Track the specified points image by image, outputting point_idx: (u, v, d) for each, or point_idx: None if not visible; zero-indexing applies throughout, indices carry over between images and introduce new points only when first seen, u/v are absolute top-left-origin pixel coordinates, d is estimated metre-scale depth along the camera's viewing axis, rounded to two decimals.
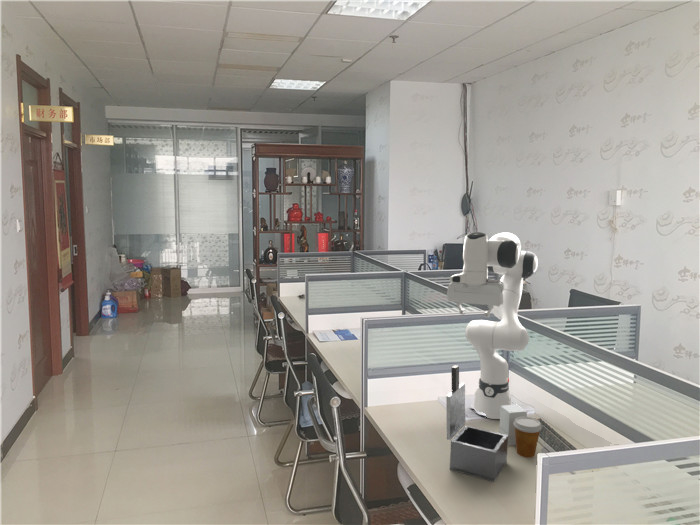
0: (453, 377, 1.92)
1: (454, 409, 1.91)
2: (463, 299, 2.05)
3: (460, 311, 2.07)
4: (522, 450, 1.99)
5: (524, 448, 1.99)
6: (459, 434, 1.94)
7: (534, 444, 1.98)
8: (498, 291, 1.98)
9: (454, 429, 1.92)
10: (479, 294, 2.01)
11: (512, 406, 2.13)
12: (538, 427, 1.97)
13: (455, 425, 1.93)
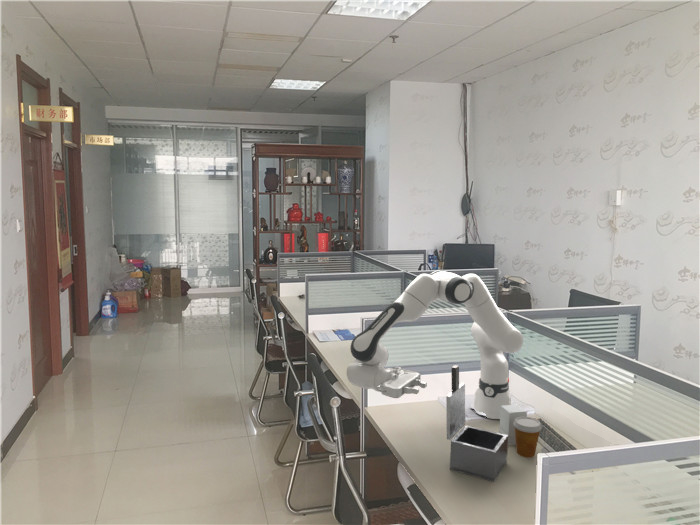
0: (453, 377, 1.92)
1: (454, 409, 1.91)
2: None
3: None
4: (522, 450, 1.99)
5: (524, 448, 1.99)
6: (459, 434, 1.94)
7: (534, 444, 1.98)
8: (385, 395, 1.98)
9: (454, 429, 1.92)
10: None
11: (512, 406, 2.13)
12: (538, 427, 1.97)
13: (455, 425, 1.93)
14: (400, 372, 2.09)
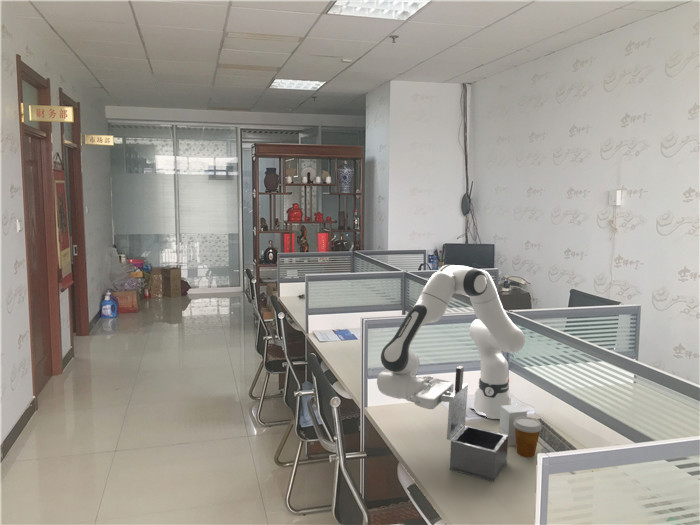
0: (457, 378, 1.91)
1: (456, 409, 1.91)
2: None
3: None
4: (522, 450, 1.99)
5: (524, 448, 1.99)
6: (459, 434, 1.94)
7: (534, 444, 1.98)
8: (418, 405, 1.92)
9: (454, 429, 1.92)
10: None
11: (512, 406, 2.13)
12: (538, 427, 1.97)
13: (456, 425, 1.93)
14: (432, 381, 2.03)
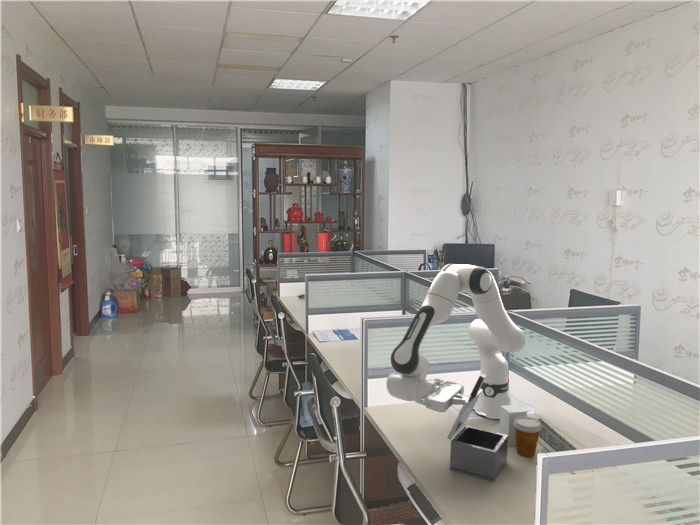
0: (477, 385, 1.88)
1: (465, 413, 1.89)
2: None
3: None
4: (522, 450, 1.99)
5: (524, 448, 1.99)
6: (459, 434, 1.94)
7: (534, 444, 1.98)
8: (429, 408, 1.90)
9: (456, 430, 1.92)
10: None
11: (512, 406, 2.13)
12: (538, 427, 1.97)
13: (459, 427, 1.92)
14: (443, 384, 2.01)
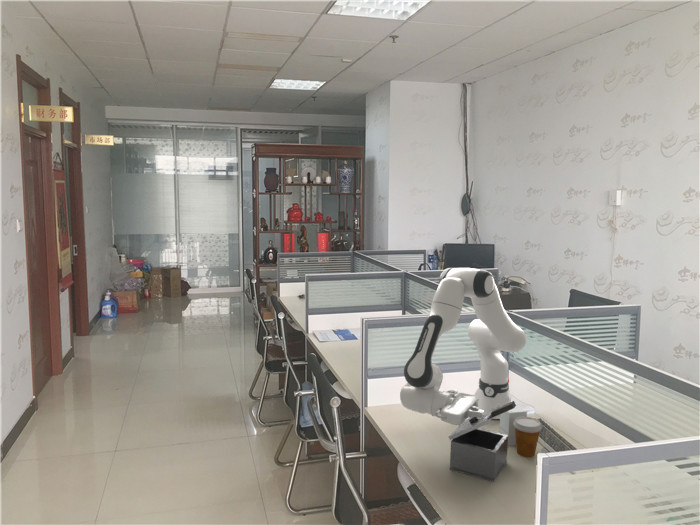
0: (503, 409, 1.84)
1: None
2: None
3: None
4: (522, 450, 1.99)
5: (524, 448, 1.99)
6: None
7: (534, 444, 1.98)
8: (445, 421, 1.87)
9: None
10: None
11: None
12: (538, 427, 1.97)
13: None
14: (457, 396, 1.99)
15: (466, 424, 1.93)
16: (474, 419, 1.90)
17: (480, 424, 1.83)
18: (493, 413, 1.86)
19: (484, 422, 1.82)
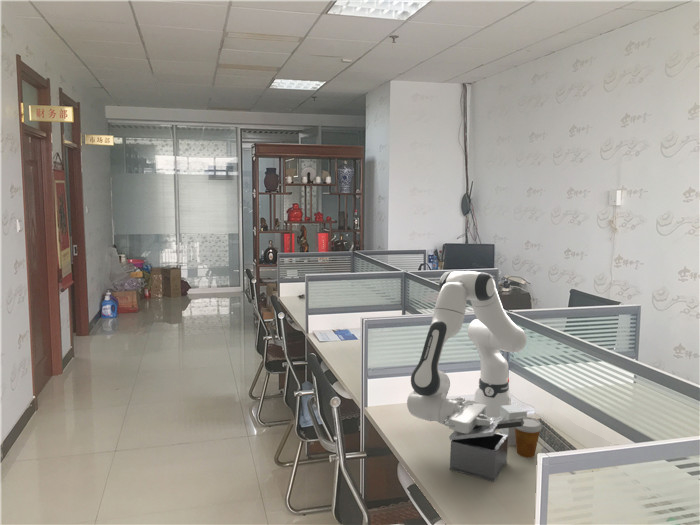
0: (510, 424, 1.84)
1: None
2: None
3: None
4: (522, 450, 1.99)
5: (524, 448, 1.99)
6: None
7: (534, 444, 1.98)
8: (453, 429, 1.86)
9: None
10: None
11: (512, 406, 2.13)
12: (538, 427, 1.97)
13: None
14: (465, 403, 1.98)
15: None
16: (478, 425, 1.90)
17: (485, 434, 1.82)
18: (499, 425, 1.86)
19: (489, 433, 1.81)
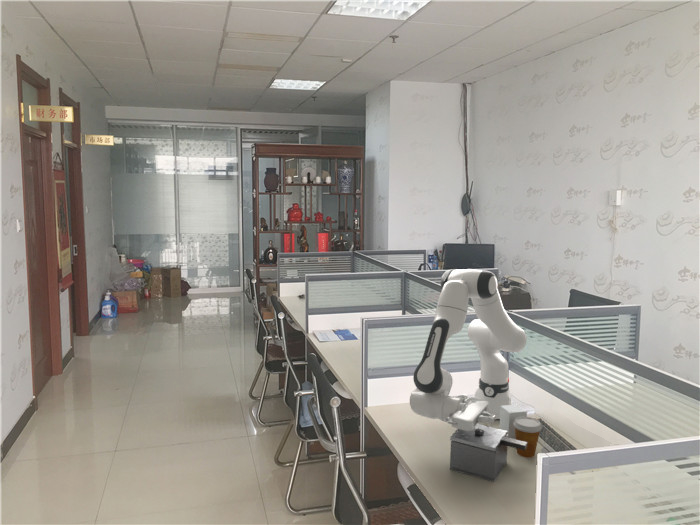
0: (514, 445, 1.84)
1: None
2: None
3: None
4: (522, 450, 1.99)
5: None
6: None
7: (534, 444, 1.98)
8: (455, 427, 1.86)
9: None
10: None
11: (512, 406, 2.13)
12: (538, 427, 1.97)
13: None
14: (467, 401, 1.97)
15: (470, 432, 1.92)
16: (481, 434, 1.90)
17: (487, 447, 1.82)
18: (502, 441, 1.86)
19: (492, 448, 1.81)
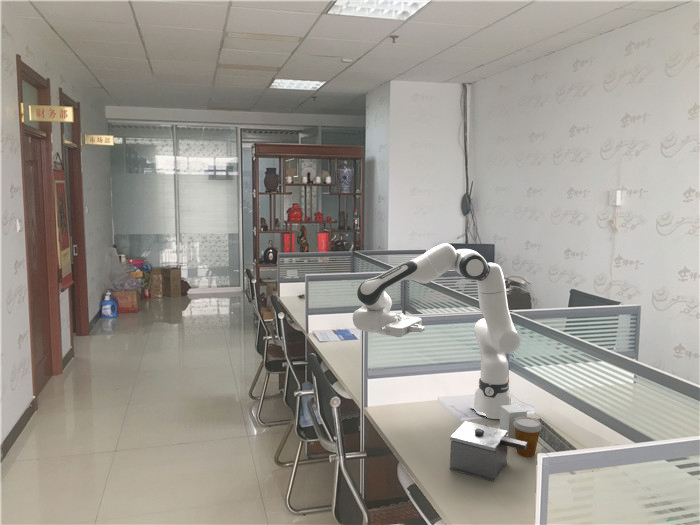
0: (514, 445, 1.84)
1: None
2: None
3: None
4: (522, 450, 1.99)
5: None
6: None
7: (534, 444, 1.98)
8: None
9: None
10: None
11: (512, 406, 2.13)
12: (538, 427, 1.97)
13: None
14: (403, 317, 2.24)
15: (470, 432, 1.92)
16: (481, 434, 1.90)
17: (487, 447, 1.82)
18: (502, 441, 1.86)
19: (492, 448, 1.81)
